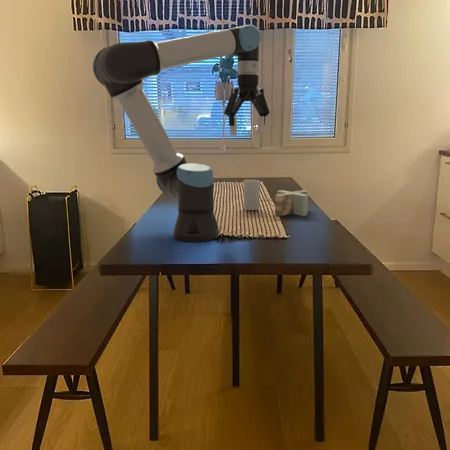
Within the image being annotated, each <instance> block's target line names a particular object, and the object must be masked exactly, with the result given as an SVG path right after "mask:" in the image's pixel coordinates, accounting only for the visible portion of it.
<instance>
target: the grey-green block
mask: <svg viewBox="0 0 450 450" xmlns="http://www.w3.org/2000/svg"><path fill="white" fill-rule="evenodd" d="M283 193H288V194H291V204H294V205H293V213H292V214H293V215H297V216H301V217H305V216H308V215H309V213H308V212H309V211H308V210H309V194H308V195H306V194H300V193H295V191H289V190H288V191H287V190H283V189H282V190H277V191H276V195H278V194H283Z"/></svg>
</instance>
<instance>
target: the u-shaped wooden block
mask: <svg viewBox="0 0 450 450" xmlns="http://www.w3.org/2000/svg"><path fill="white" fill-rule="evenodd" d="M294 192H295V193H300V194H306V195H308V196H309V191H308V190H306V189H305V190H303V189H302V190H295V191H294ZM274 200H275V202H274V206H275V207H274V215H275V214H277V215H276V216H278V215H279V217H283V216H286V215H291V214H293V205H294V204H291V194H288V193H283V194H278V195H277V194H275V197H274Z"/></svg>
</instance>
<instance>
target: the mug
mask: <svg viewBox="0 0 450 450" xmlns="http://www.w3.org/2000/svg"><path fill="white" fill-rule="evenodd" d="M260 193H261V180H259V179H244V180H243V209H245V211H247V210H252V211H251V212H254V211H253V210H256V211H259V210H260V195H261V194H260Z"/></svg>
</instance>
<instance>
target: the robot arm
mask: <svg viewBox="0 0 450 450" xmlns="http://www.w3.org/2000/svg"><path fill="white" fill-rule="evenodd" d="M260 32H261V31H260V30H259V29H258V27H257V26H255V25H253V24H245V25H241V26H237V27H232V28H227V29H226V28H225V29H222V30H221V29H220V30H211V31H209V32H206V33H201V34H196V35H195V34H194V35H190V36H186V37H180V38H174V39H169V40H164V41H163V40H162V41H159V42H155V41H153V40H151V39H148V40H143V41H134V42H131V41H130V42H118V43H114V44H113V45H108V46H106V47H103V48H101V50H99V52H97V54H96V55H95V56H94V59H93V62H92V71H93V75H94V77H95V79H96V80H97V81H98V82H99V83H100V84H101V85H102V86H104V87H105V89H106V90H107V93H108V94H109V96H110V98H111V99H114V100H117V101H118V102H119V103H120V105H121V108H122V109H123V111H124V113H125V114H126V117H127V118H128V119H129V122H130V124H131V125H132V127H133V129H134V130H135V132H136V134H137V136H138V137H139V140H140V142H141V144H142V145H143V146H144V148H145V151H146V152H147V155H148V156H149V158H150V159H151V161H152V164H154V165H153V168H152V172H153V173H154V175H155V179H156V185H157V187H158V189H159V190H160V191H161V192H162V193H163V194H164V195H166V196H168V197H170V198H173V199H176V200H177V211H178V212H177V217H176V220H175V224H174V228H173V238H174V239H175V240H178V241H182V242H189V243H201V242H210V241H213V240H215V239H217V238H219V237H220V229H219V225H218V222H217V218H216V216H215V214H214V213H215V212H214V208H215V207H214V182H215V178H214V173H213V172H214V171H213V169H212V168H211V166H209V165H207V164H206V165H205V164H202V163H201V164H200V163H197V162H196V163H195V162H193V163H191V162H189V163H188V162H187V160H186V158H185V156H184V155H183V154H182V153H179V152H177V150H176V148H175V147H174V145H173V143H172V141H171V139H170V138H169V135H168V134H167V132H166V130H165V128H164V126H163V124H162V121H160V118H159V116H158V114H157V113H156V111H155V109H154V108H153V106H152V104H151V101H150V99H149V98H148V96H147V94H146V92H145V90H144V87H143V86H144V82H145V81H144V79H146V78H149V77H153V76H157V75H160V74H161V72H162V70H167V69H172V68H176V67H181V66H186V65H190V64H194V63H199V62H203V61H207V60H211V59H212V60H213V59H218V58H221V57H226V56H228V57H230V56H232V57H233V56H234V57H237V73H238V75H237V86H238V87H232V88H231V91H230V95H229V98H228V101H227V104H226V106H225V110H224V112H223V113H224V115H225V116H226V117H228V126H229V127H230V128H229V131H230V132H229V135H230V136H237V133H238V129H237V128H238V125H237V123H238V116H236V114H237V113H238V112H239V110H240V108H241V106H242V105H243V104H244V103H245V102H250V103H251V104H252V105H253V107H254V108H255V110H256V112H257V113H258V116H257V131H256V132H257V133H256V134H257V135H264V134H265V125H266V117H267V116H268V115H269V114H270V109H269V106H268V103H267V100H266V96H265V90H264V88H258V85H259V75H258V73H259V69H260V68H259V67H260V66H259V65H260V64H259V62H260V61H259V59H260V57H259V55H260V54H259V53H260V43H261V33H260Z"/></svg>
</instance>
